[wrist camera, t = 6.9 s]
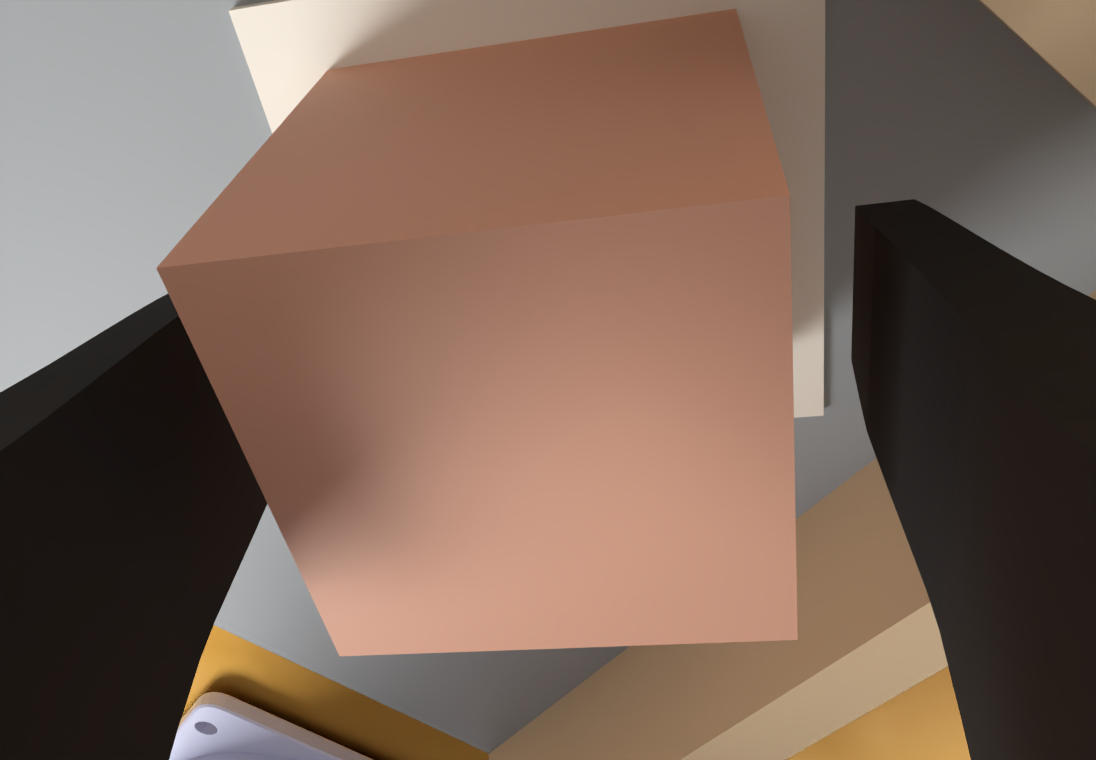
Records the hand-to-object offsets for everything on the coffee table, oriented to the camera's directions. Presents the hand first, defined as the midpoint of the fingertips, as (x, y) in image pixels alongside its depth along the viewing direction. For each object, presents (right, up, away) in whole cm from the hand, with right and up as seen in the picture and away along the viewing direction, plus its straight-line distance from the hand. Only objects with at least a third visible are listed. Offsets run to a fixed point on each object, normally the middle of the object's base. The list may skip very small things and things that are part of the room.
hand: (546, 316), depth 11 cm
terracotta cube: (0, +1, +2) cm, 2 cm away
